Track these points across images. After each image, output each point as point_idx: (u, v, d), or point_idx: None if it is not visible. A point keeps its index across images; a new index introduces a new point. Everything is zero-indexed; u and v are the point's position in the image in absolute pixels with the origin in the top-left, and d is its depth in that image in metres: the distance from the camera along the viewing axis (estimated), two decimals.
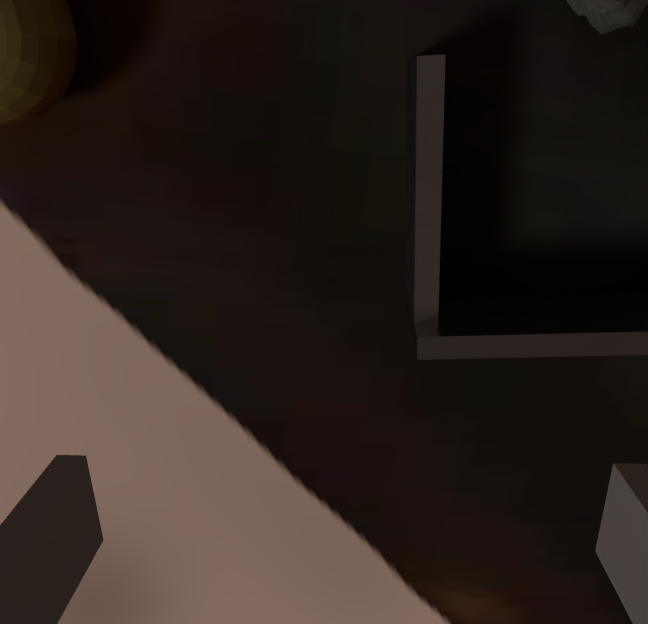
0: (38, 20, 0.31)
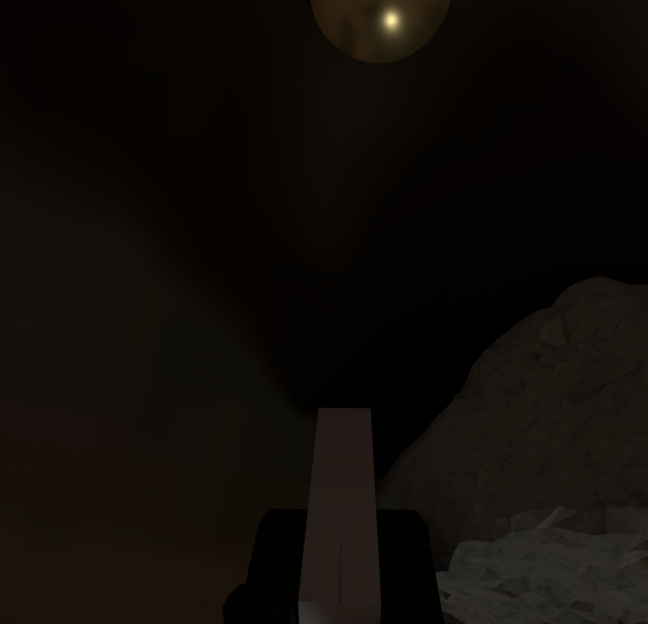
0: None
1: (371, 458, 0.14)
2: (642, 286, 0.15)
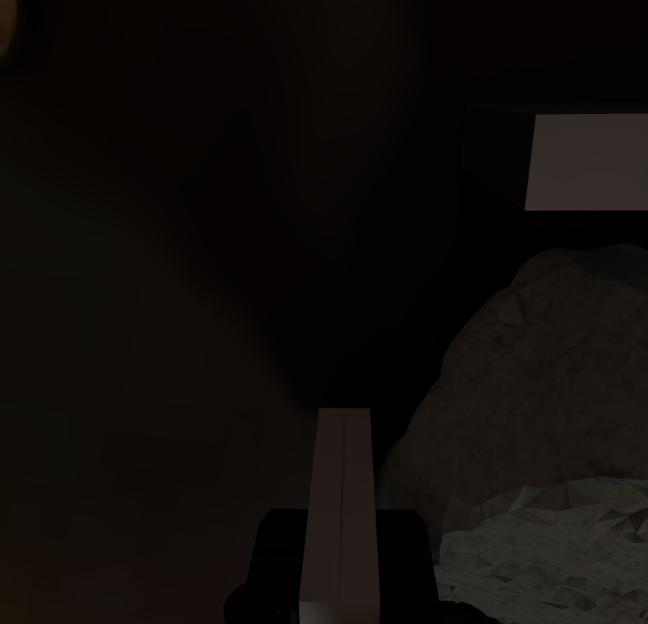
0: None
1: (370, 458, 0.14)
2: (599, 249, 0.14)
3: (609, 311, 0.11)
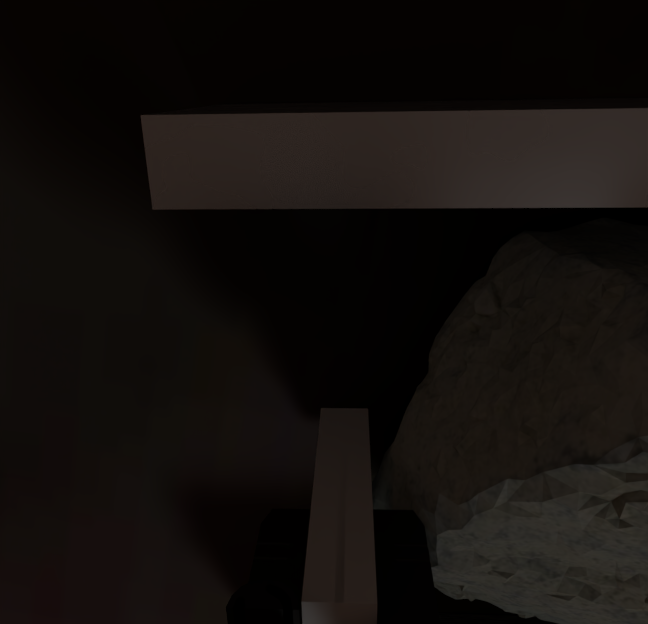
0: None
1: (368, 458, 0.14)
2: (573, 228, 0.14)
3: (577, 292, 0.11)
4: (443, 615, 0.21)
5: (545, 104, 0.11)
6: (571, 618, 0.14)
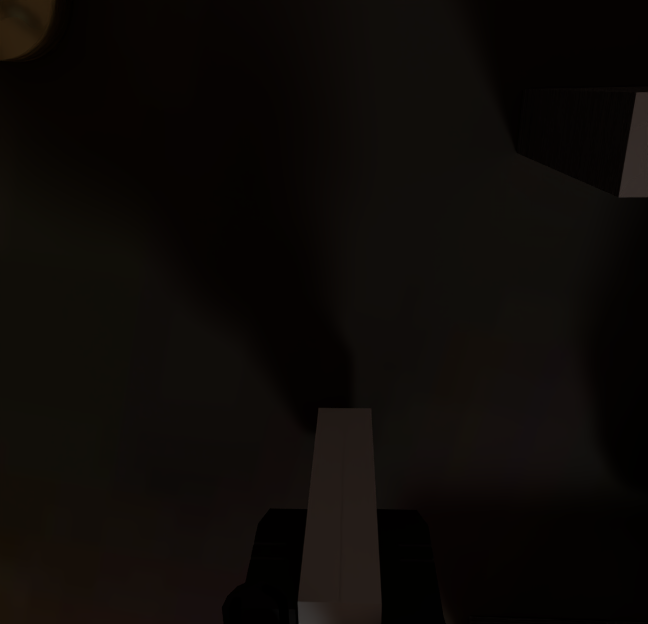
0: None
1: (372, 458, 0.14)
2: None
3: None
4: None
5: None
6: None
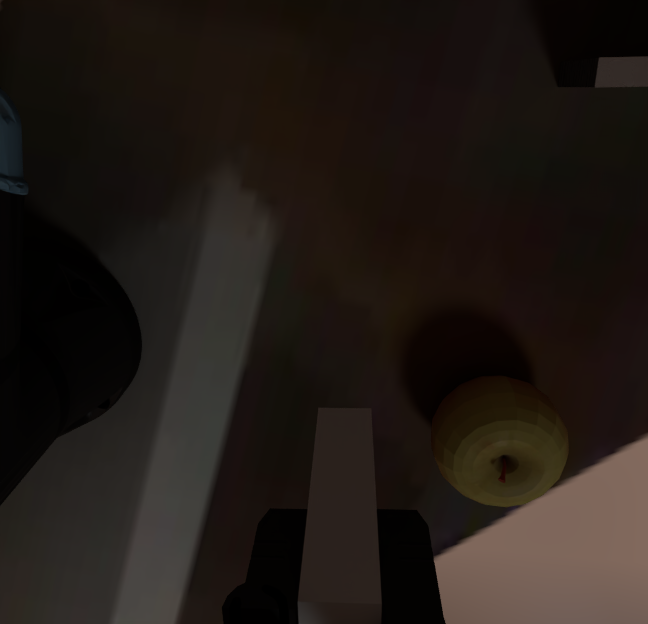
0: (506, 404, 0.39)
1: (372, 458, 0.14)
2: None
3: None
4: None
5: None
6: None
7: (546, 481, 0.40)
